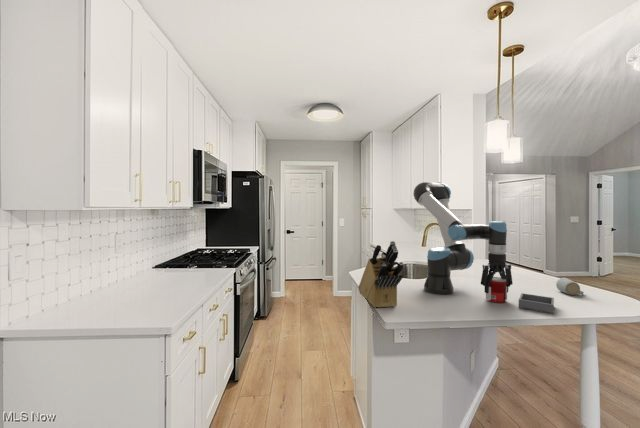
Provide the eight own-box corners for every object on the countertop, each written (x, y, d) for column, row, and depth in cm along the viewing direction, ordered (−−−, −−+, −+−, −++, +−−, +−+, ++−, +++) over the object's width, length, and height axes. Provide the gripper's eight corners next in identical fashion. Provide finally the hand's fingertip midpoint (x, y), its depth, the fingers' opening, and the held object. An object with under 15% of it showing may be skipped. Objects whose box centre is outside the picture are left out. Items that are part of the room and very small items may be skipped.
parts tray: (518, 308, 140) (518, 299, 140) (521, 301, 150) (521, 293, 150) (553, 314, 132) (553, 304, 132) (553, 306, 142) (553, 297, 142)
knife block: (380, 316, 130) (381, 243, 129) (357, 292, 165) (358, 235, 164) (405, 314, 132) (406, 242, 131) (377, 291, 167) (378, 234, 166)
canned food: (508, 303, 146) (508, 280, 146) (490, 302, 148) (490, 280, 147) (502, 298, 154) (502, 277, 153) (484, 297, 155) (485, 276, 155)
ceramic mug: (566, 295, 159) (566, 281, 159) (555, 291, 167) (556, 277, 167) (588, 296, 158) (588, 281, 158) (576, 292, 166) (577, 278, 166)
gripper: (482, 254, 145) (481, 302, 146) (522, 253, 147) (521, 300, 148) (472, 252, 152) (471, 297, 153) (510, 251, 155) (510, 296, 156)
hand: (496, 299), depth 151 cm, fingers closed on canned food, 8 cm apart
